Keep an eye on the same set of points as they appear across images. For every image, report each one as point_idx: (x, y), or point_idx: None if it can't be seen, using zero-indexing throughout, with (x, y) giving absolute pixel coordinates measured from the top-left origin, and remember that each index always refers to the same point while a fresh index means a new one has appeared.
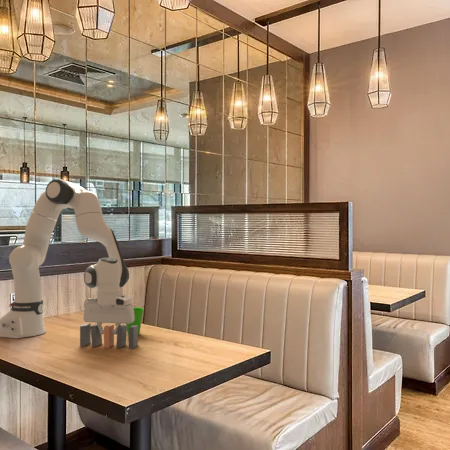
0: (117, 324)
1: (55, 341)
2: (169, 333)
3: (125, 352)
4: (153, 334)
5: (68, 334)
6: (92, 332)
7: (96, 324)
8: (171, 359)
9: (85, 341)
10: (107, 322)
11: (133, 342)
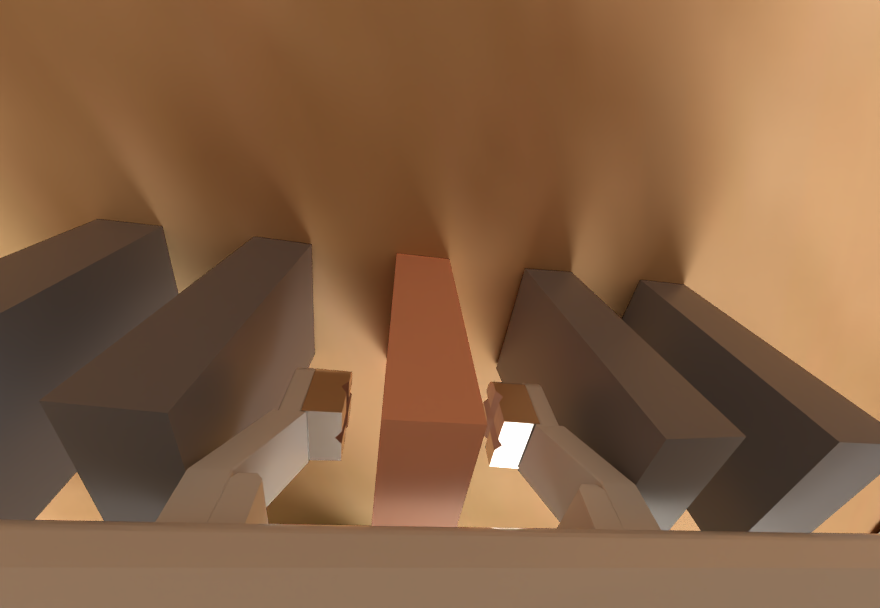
0: (197, 505)
1: (862, 393)
2: None
3: (87, 40)
4: None
5: None
6: (646, 363)
7: None
8: None
9: (661, 313)
10: (426, 534)
11: (33, 247)
